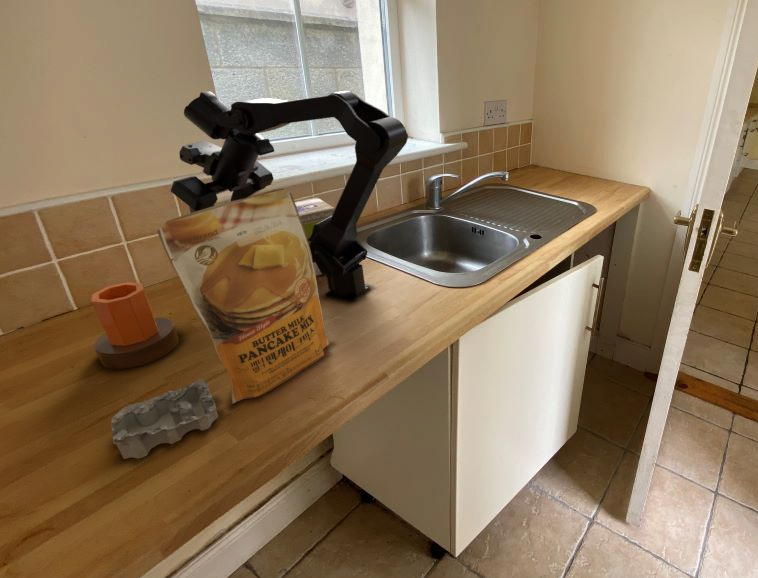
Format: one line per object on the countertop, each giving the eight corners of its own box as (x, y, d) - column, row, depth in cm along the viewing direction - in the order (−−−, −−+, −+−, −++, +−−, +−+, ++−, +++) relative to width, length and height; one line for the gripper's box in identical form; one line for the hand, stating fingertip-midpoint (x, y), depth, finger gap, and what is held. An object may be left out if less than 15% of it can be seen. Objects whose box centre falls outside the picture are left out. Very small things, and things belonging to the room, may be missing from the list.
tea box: (329, 253, 109) (319, 195, 102) (347, 268, 103) (337, 207, 96) (261, 272, 99) (245, 209, 93) (276, 289, 93) (260, 223, 86)
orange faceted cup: (167, 325, 75) (152, 284, 72) (135, 347, 70) (117, 303, 66) (134, 322, 76) (117, 281, 72) (100, 343, 70) (80, 300, 67)
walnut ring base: (193, 338, 77) (188, 323, 76) (132, 374, 69) (125, 359, 67) (149, 327, 80) (143, 312, 78) (84, 361, 71) (77, 345, 70)
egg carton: (120, 468, 54) (107, 444, 52) (117, 430, 59) (105, 407, 57) (223, 425, 61) (214, 402, 59) (212, 394, 66) (204, 372, 64)
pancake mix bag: (204, 398, 65) (139, 219, 53) (318, 333, 80) (288, 182, 68) (232, 417, 62) (170, 231, 50) (344, 345, 77) (317, 190, 65)
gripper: (242, 119, 92) (219, 174, 99) (155, 135, 76) (135, 199, 83) (286, 156, 94) (260, 207, 101) (209, 179, 77) (185, 238, 84)
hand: (214, 211), depth 92 cm, fingers open, 9 cm apart
